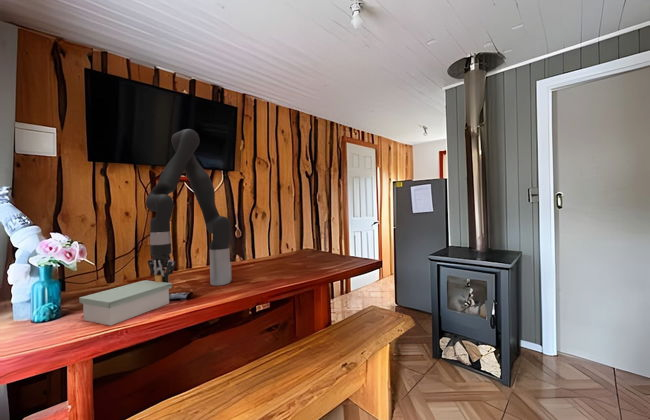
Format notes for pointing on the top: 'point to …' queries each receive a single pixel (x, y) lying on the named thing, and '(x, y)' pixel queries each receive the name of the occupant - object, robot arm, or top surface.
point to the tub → (125, 309)
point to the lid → (126, 293)
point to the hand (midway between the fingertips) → (162, 284)
